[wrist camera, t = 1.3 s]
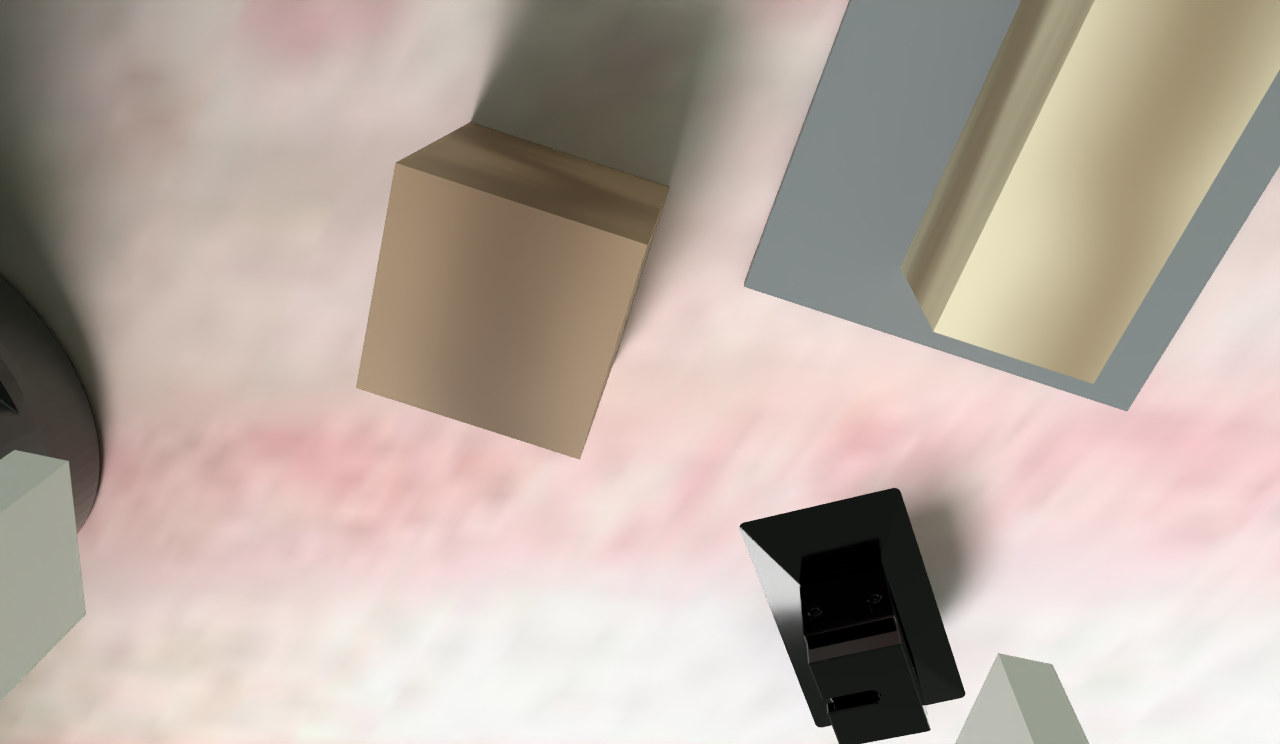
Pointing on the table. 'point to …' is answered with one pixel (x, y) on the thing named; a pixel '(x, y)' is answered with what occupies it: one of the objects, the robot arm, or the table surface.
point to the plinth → (1085, 170)
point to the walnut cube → (506, 284)
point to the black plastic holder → (856, 614)
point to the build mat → (912, 167)
